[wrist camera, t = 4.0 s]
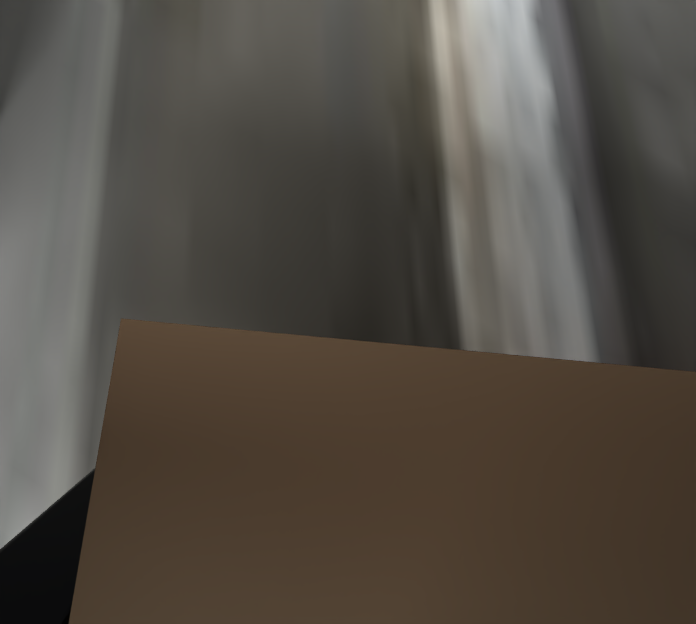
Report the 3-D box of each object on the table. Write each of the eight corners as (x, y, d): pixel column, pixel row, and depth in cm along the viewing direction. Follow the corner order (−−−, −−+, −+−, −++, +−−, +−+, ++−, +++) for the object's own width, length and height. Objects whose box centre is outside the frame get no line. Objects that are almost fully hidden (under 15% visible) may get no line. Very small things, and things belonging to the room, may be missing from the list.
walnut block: (419, 665, 13) (777, 1133, 4) (201, 654, 13) (-19, 1137, 3) (427, 446, 15) (713, 374, 5) (228, 430, 14) (120, 317, 5)
